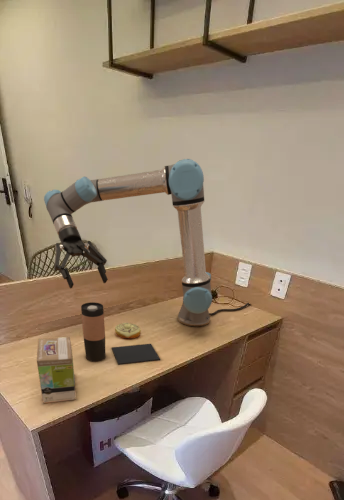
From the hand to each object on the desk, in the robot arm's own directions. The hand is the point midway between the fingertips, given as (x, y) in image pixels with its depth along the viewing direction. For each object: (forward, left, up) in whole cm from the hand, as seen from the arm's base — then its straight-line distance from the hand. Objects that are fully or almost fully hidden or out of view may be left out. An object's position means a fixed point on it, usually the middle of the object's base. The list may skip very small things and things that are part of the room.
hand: (89, 283), depth 124 cm
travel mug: (+1, +13, -24) cm, 27 cm away
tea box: (+15, +31, -24) cm, 42 cm away
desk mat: (-14, +14, -24) cm, 31 cm away
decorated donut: (-15, -4, -24) cm, 28 cm away
